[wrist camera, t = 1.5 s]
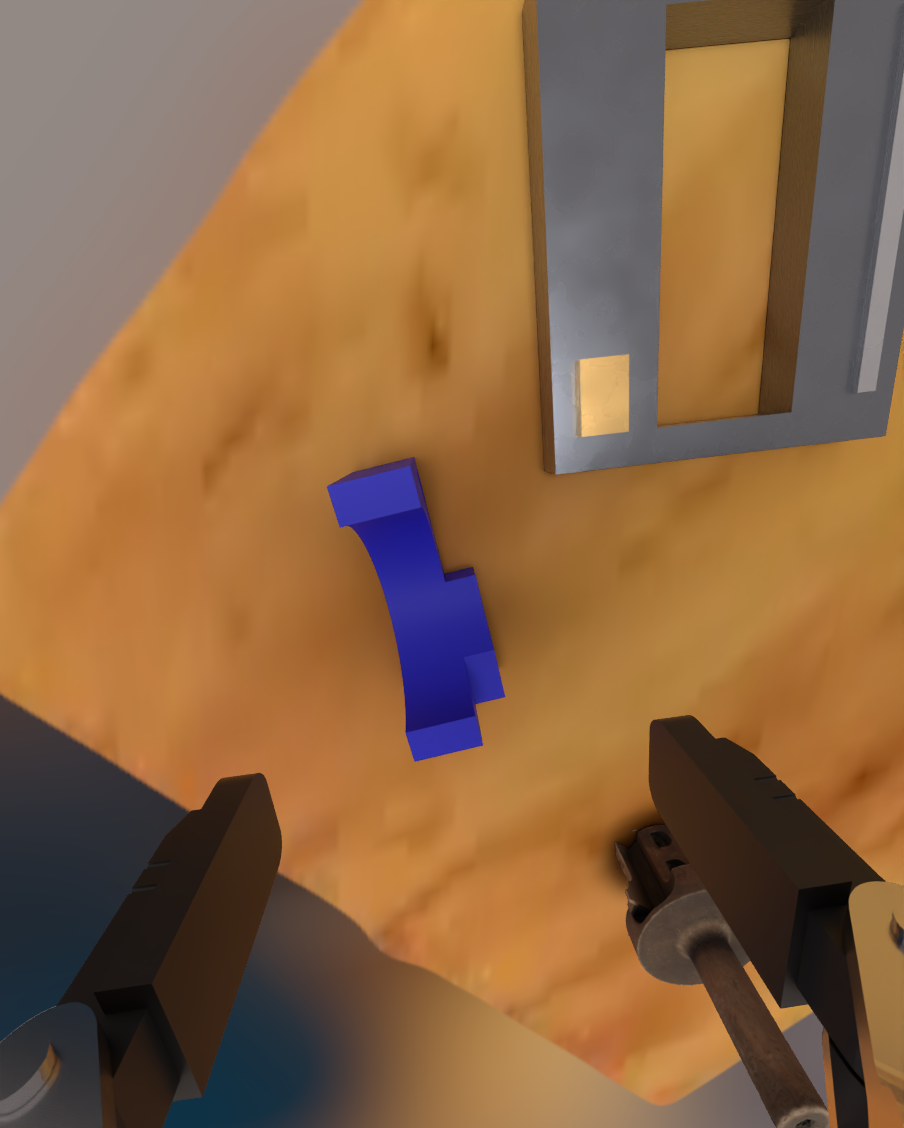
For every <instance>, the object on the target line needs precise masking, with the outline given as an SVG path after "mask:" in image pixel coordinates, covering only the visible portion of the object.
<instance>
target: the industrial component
mask: <svg viewBox="0 0 904 1128" xmlns="http://www.w3.org/2000/svg"><path fill="white" fill-rule="evenodd" d="M636 830H637V829H636ZM633 831H634V830H633ZM615 846H616V849H617V850H616V853H615V855H616V857H617V859H618V862H619V864H620V866H621V868H622V870H623V872H624V874H625V877H626V879H627V886H628V889H626V891H625V894H626V896H627V898H628V904H627V905H628V910H627V915H626V927H627V931H628V934H629V936H630V938H631V941H632V943H633V946H634V948H635V951H636V953H637V955H638V958H639V961H640V963H641V964H642V966H643V967H644V969H645V970H646V971H647V972H648V973H649V974H651V975H652V976H654V977H655V978H657V979H659V980H661V981H664V982H667V983H671V984H677V985H694V984H695V985H696V984H704V986H705V987H706V990H707V992H708V994H709V996H710V998H711V1000H712V1001H713V1003H714V1006H715V1008H716V1010H717V1012H718V1013H719V1016H720V1018H721V1019H722V1022H723V1024H724V1026H725V1028H726V1030H727V1032H728V1034H729V1035H730V1038H731V1040H732V1041H733V1044H734V1046H735V1047H736V1049H737V1051H738V1053H739V1056H740V1057H741V1059H742V1061H743V1063H744V1065H745V1067H746V1069H747V1071H748V1073H749V1076H750V1077H751V1079H752V1081H753V1083H754V1085H755V1087H756V1089H757V1091H758V1092H759V1094H760V1097H761V1099H762V1101H763V1103H764V1105H765V1107H766V1109H767V1111H768V1113H769V1115H770V1117H771V1119H772V1121H773V1123H774V1124H775V1126H776V1128H827V1127H828V1125H829V1114H828V1110H827V1108H826V1106H825V1105H824V1103H823V1101H822V1099H821V1097H820V1096H819V1094H818V1093H817V1091H816V1089H815V1088H814V1086H813V1084H812V1082H811V1081H810V1079H809V1078H808V1076H807V1074H806V1073H805V1071H804V1069H803V1068H802V1066H801V1064H800V1063H799V1061H798V1059H797V1058H796V1056H795V1054H794V1053H793V1051H792V1050H791V1048H790V1046H789V1044H788V1043H787V1041H786V1040H785V1038H784V1036H783V1034H782V1032H781V1031H780V1029H779V1027H778V1026H777V1023H776V1022H775V1020H774V1018H773V1017H772V1015H771V1014H770V1012H769V1010H768V1009H767V1007H766V1005H765V1003H764V1002H763V1000H762V998H761V997H760V995H759V993H758V992H757V990H756V988H755V987H754V985H753V983H752V981H751V980H750V978H749V976H748V975H747V973H746V971H745V970H744V968H743V967H744V965H746V964H747V963H748V962H749V961H750V959H749V957H748V956H747V954H746V953H745V951H744V949H743V948H742V946H741V944H740V943H739V941H738V940H737V938H736V936H735V935H734V933H733V932H732V930H731V928H730V927H729V925H728V924H727V922H726V920H725V919H724V917H723V916H722V914H721V912H720V911H719V909H718V908H717V906H716V904H715V903H714V901H713V900H712V898H711V896H710V895H709V893H708V892H707V890H706V888H705V887H704V885H703V883H702V882H701V880H700V879H699V877H698V875H697V874H696V872H695V871H694V869H693V867H692V866H691V864H690V863H689V861H688V859H687V858H686V856H685V855H684V853H683V851H682V850H681V848H680V847H679V845H678V843H677V842H676V840H675V839H674V837H673V835H672V834H671V832H670V831H669V829H668V827H667V826H666V825H655V826H651V827H648V828H645V829H643V830H641V831H639V832H638V833H637V841H636V842H635V844H634V845H633V846H632V847H631V848H630V849H627V848H626V847H624V846H622V845H620V844H618V843H617V842H615Z"/></svg>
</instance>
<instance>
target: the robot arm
mask: <svg viewBox="0 0 904 1128" xmlns="http://www.w3.org/2000/svg"><path fill="white" fill-rule="evenodd" d="M649 786H650V791H651V795H652V799H653V801H654V804H655V806H656V809H657V811H658V813H659V814H660V816H661V818H662V819H663V821H664V822H665V824H666V826H667V827H668V829H669V831H670V832H671V834H672V835H673V837H674V839H675V840H676V842H677V843H678V845H679V847H680V848H681V850H682V851H683V853H684V855H685V856H686V858H687V859H688V861H689V863H690V864H691V866H692V867H693V869H694V871H695V872H696V874H697V875H698V877H699V879H700V880H701V882H702V883H703V885H704V887H705V888H706V890H707V892H708V893H709V895H710V896H711V898H712V900H713V901H714V903H715V904H716V906H717V908H718V909H719V911H720V912H721V914H722V916H723V917H724V919H725V920H726V922H727V924H728V925H729V927H730V928H731V930H732V932H733V933H734V935H735V936H736V938H737V940H738V941H739V943H740V944H741V946H742V948H743V949H744V951H745V953H746V954H747V956H748V957H749V959H750V961H751V962H752V964H753V965H754V967H755V969H756V970H757V972H758V973H759V975H760V977H761V978H762V980H763V981H764V983H765V985H766V986H767V988H768V989H769V991H770V993H771V994H772V996H773V997H774V999H775V1001H776V1002H777V1004H778V1005H779V1007H780V1009H781V1008H787V1007H794V1006H800V1005H806V1004H808V1005H809V1006H810V1007H811V1009H812V1010H813V1012H814V1013H815V1015H816V1016H817V1018H818V1019H819V1021H820V1022H821V1024H822V1025H823V1032H822V1046H823V1058H824V1069H825V1080H826V1091H827V1102H828V1114H829V1125H830V1128H904V886H903V885H899V884H895V883H889V882H886V881H885V880H884V879H883V878H881V877H880V876H879V875H878V874H877V873H876V872H875V871H874V870H873V869H872V868H871V867H870V866H869V865H868V864H867V863H866V862H865V861H864V860H863V859H862V858H861V857H859V856H858V855H857V854H856V853H855V852H854V851H853V850H852V849H851V848H850V847H849V846H848V845H847V844H846V843H845V842H844V841H843V840H842V839H841V838H840V837H839V836H838V835H837V834H836V833H835V832H834V831H833V830H832V829H831V828H830V827H828V826H827V825H826V824H825V823H824V822H823V821H822V820H821V819H820V818H819V817H818V816H817V815H816V814H815V813H814V812H813V811H812V810H811V809H810V808H809V807H808V806H807V805H806V804H805V803H804V802H803V801H802V800H801V799H797V798H796V796H795V794H794V793H793V792H792V791H791V790H790V789H789V788H788V787H787V786H786V785H785V784H784V783H783V782H782V781H781V780H777V778H776V775H775V774H774V773H773V772H772V771H771V770H770V769H769V768H767V767H766V766H765V765H764V764H763V763H762V762H761V761H760V760H759V759H758V758H757V757H756V756H755V755H754V754H753V753H751V752H749V751H747V750H746V749H744V748H742V747H740V746H739V745H737V744H735V743H734V742H732V741H730V740H728V739H727V738H719V739H715V738H714V737H713V736H712V735H711V734H710V733H709V732H708V731H707V729H706V728H705V727H704V726H703V725H702V724H701V723H700V722H699V721H698V720H697V719H696V718H694V717H693V716H691V715H686V716H679V717H672V718H664V719H657V720H653V721H652V722H651V725H650V742H649ZM281 851H282V837H281V830H280V827H279V823H278V820H277V816H276V813H275V809H274V805H273V802H272V798H271V795H270V791H269V788H268V784H267V781H266V778H265V777H264V775H263V774H261V773H256V774H249V775H241V776H234V777H227V778H222V779H220V780H219V781H218V782H217V783H216V785H215V787H214V788H213V790H212V792H211V793H210V795H209V797H208V798H207V800H206V802H205V804H204V805H203V807H202V809H200V810H193V811H191V812H189V813H188V814H187V815H186V817H184V818H183V819H182V820H181V821H180V822H179V823H178V824H177V825H176V826H175V827H174V828H173V829H172V830H171V831H170V832H169V833H168V834H167V835H166V836H165V838H164V839H163V840H162V842H161V844H160V845H159V847H158V848H157V850H156V851H155V853H154V855H153V856H152V858H151V859H150V861H149V862H148V868H147V869H144V870H143V872H142V873H141V875H140V876H139V878H138V880H137V881H136V883H135V884H134V886H133V887H132V893H131V894H128V895H127V897H126V898H125V900H124V901H123V903H122V905H121V906H120V908H119V910H118V911H117V913H116V914H115V916H114V917H113V919H112V920H111V922H110V924H109V925H108V927H107V928H106V930H105V931H104V933H103V934H102V936H101V938H100V939H99V941H98V942H97V944H96V946H95V947H94V949H93V950H92V952H91V953H90V955H89V956H88V958H87V960H86V961H85V963H84V964H83V966H82V967H81V969H80V970H79V972H78V973H77V975H76V977H75V978H74V980H73V981H72V983H71V984H70V986H69V988H68V989H67V991H66V993H65V994H64V995H63V997H62V998H61V1000H60V1001H59V1003H58V1004H57V1005H56V1007H53V1008H50V1009H48V1010H46V1011H44V1012H42V1013H40V1014H39V1015H37V1016H35V1017H33V1018H32V1019H30V1020H28V1021H27V1022H25V1023H24V1024H23V1025H22V1026H20V1027H19V1028H17V1029H16V1030H14V1031H13V1032H12V1033H11V1034H10V1035H9V1036H7V1037H6V1038H5V1039H4V1040H3V1041H2V1042H0V1128H162V1127H163V1125H164V1122H165V1119H166V1117H167V1114H168V1111H169V1108H170V1106H171V1103H172V1102H173V1101H179V1100H185V1099H192V1098H198V1097H203V1094H204V1091H205V1088H206V1085H207V1082H208V1079H209V1076H210V1073H211V1070H212V1067H213V1063H214V1061H215V1057H216V1055H217V1052H218V1049H219V1046H220V1043H221V1040H222V1037H223V1033H224V1031H225V1027H226V1025H227V1022H228V1018H229V1015H230V1012H231V1009H232V1006H233V1003H234V1000H235V997H236V994H237V991H238V988H239V985H240V982H241V979H242V976H243V973H244V970H245V967H246V964H247V961H248V958H249V955H250V952H251V949H252V946H253V943H254V940H255V937H256V934H257V931H258V928H259V925H260V922H261V919H262V916H263V913H264V910H265V907H266V904H267V901H268V897H269V895H270V892H271V889H272V886H273V883H274V880H275V877H276V874H277V871H278V867H279V864H280V859H281Z"/></svg>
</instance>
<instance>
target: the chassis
mask: <svg viewBox="0 0 904 1128" xmlns="http://www.w3.org/2000/svg"><path fill="white" fill-rule="evenodd" d="M522 21H523V42H524V62H525V83H526V104H527V124H528V145H529V165H530V186H531V207H532V227H533V248H534V269H535V289H536V310H537V331H538V351H539V372H540V392H541V413H542V434H543V454H544V471H546V472H549V473H552V474H555V475H557V474H565V473H574V472H583V471H591V470H600V469H608V468H617V467H625V466H634V465H642V464H651V463H659V462H668V461H676V460H685V459H694V458H702V457H711V456H719V455H728V454H736V453H745V452H753V451H762V450H770V449H779V448H787V447H796V446H805V445H813V444H822V443H830V442H839V441H847V440H856V439H864V438H873V437H881V436H886V430H887V424H888V418H889V412H890V406H891V400H892V394H893V388H894V382H895V376H896V369H897V363H898V357H899V351H900V345H901V339H902V333H903V327H904V0H525V1H524V6H523V10H522ZM782 38H791V41H790V53H789V64H788V76H787V88H786V99H785V111H784V123H783V135H782V146H781V158H780V170H779V182H778V193H777V205H776V217H775V228H774V240H773V252H772V264H771V275H770V287H769V299H768V310H767V322H766V334H765V346H764V357H763V369H762V381H761V393H760V404H759V414H755V415H747V416H738V417H729V418H721V419H712V420H703V421H695V422H686V423H677V424H669V425H660V426H657V395H658V351H659V307H660V263H661V219H662V175H663V131H664V87H665V50H666V49H677V48H687V47H698V46H708V45H719V44H729V43H740V42H750V41H761V40H771V39H782Z"/></svg>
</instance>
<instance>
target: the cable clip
mask: <svg viewBox="0 0 904 1128" xmlns="http://www.w3.org/2000/svg"><path fill="white" fill-rule="evenodd" d="M327 488H328V492H329V495H330V498H331V501H332V504H333V507H334V510H335V513H336V517H337V520H338V523H339V526H340V527H344V526H350V527H351V528H353V529H354V530H355V531H356V533H357V534H358V535H359V537H360V538H361V540H362V541H363V543H364V545H365V547H366V549H367V551H368V553H369V555H370V557H371V559H372V561H373V564H374V566H375V569H376V571H377V574H378V577H379V579H380V582H381V585H382V588H383V591H384V595H385V598H386V601H387V605H388V608H389V612H390V616H391V620H392V624H393V628H394V632H395V637H396V642H397V647H398V652H399V657H400V663H401V669H402V677H403V685H404V694H405V707H406V736H407V739H408V742H409V745H410V748H411V752H412V755H413V758H414V761H415V762H416V761H420V760H424V759H428V758H432V757H436V756H440V755H445V754H449V753H453V752H457V751H461V750H465V749H470V748H474V747H478V746H482V745H483V743H482V737H481V732H480V726H479V721H478V716H477V710H476V705H475V704H478V703H482V702H486V701H490V700H495V699H499V698H503V697H505V694H504V690H503V686H502V682H501V677H500V673H499V669H498V665H497V660H496V656H495V652H494V648H493V644H492V640H491V636H490V632H489V628H488V625H487V621H486V617H485V613H484V609H483V605H482V601H481V596H480V592H479V588H478V584H477V580H476V576H475V573H474V570H473V567H471V568H467V569H463V570H459V571H454V572H450V573H446V574H444V572H443V568H442V564H441V560H440V556H439V552H438V548H437V544H436V540H435V536H434V533H433V529H432V525H431V521H430V517H429V513H428V509H427V505H426V501H425V497H424V494H423V490H422V486H421V482H420V478H419V474H418V470H417V466H416V462H415V458H414V457H413V458H409V459H405V460H401V461H397V462H393V463H389V464H385V465H381V466H377V467H373V468H369V469H365V470H361V471H357V472H353V473H351V474H349V475H347V476H345V477H344V478H342V479H340V480H338V481H336V482H334V483H332V484H331V485H329V486H327Z"/></svg>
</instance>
